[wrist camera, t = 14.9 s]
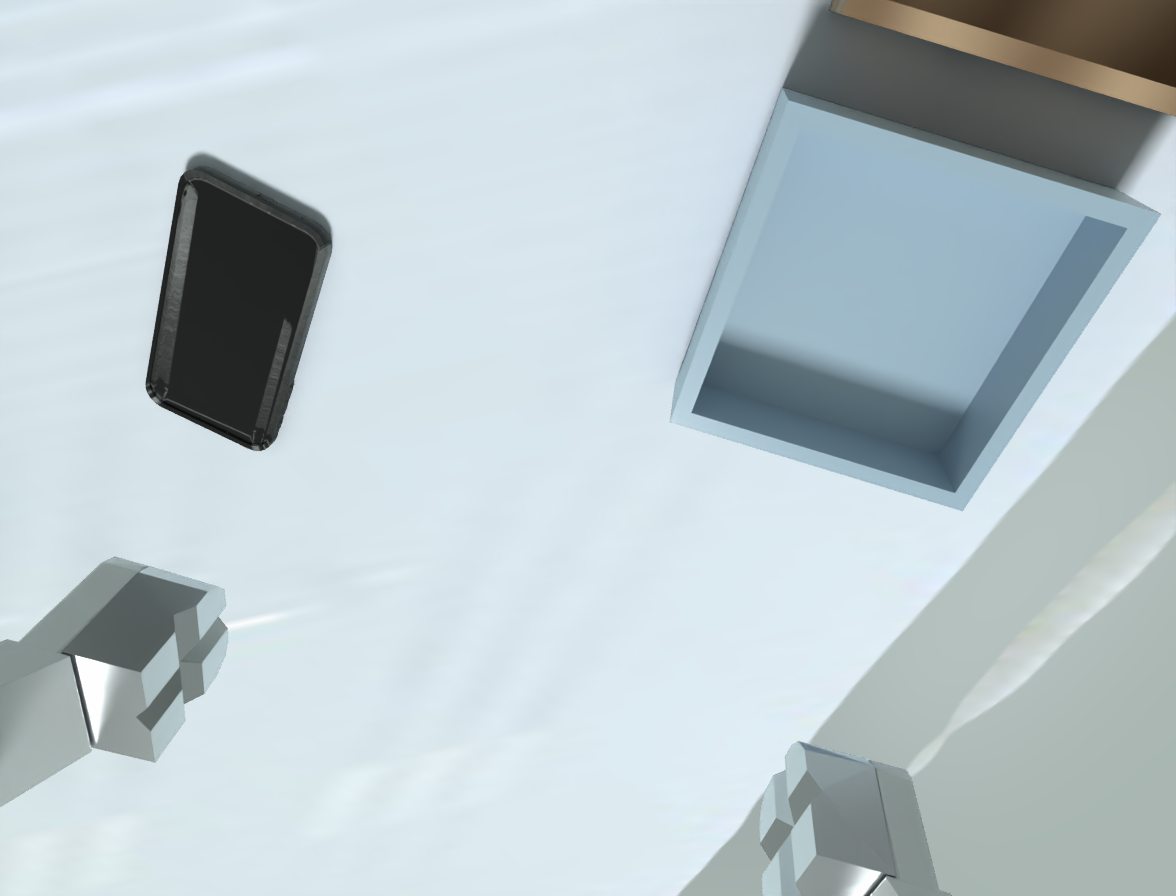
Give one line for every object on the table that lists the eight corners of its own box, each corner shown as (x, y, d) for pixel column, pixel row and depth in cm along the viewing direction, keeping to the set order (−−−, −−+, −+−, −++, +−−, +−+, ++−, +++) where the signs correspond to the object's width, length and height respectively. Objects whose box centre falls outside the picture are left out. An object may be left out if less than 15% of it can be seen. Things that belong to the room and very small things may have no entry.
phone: (143, 398, 45) (181, 161, 37) (155, 389, 46) (195, 156, 38) (268, 458, 46) (332, 238, 38) (277, 448, 47) (342, 232, 39)
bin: (674, 384, 40) (669, 421, 37) (782, 87, 32) (788, 100, 29) (942, 466, 40) (962, 510, 37) (1115, 189, 32) (1161, 213, 29)
